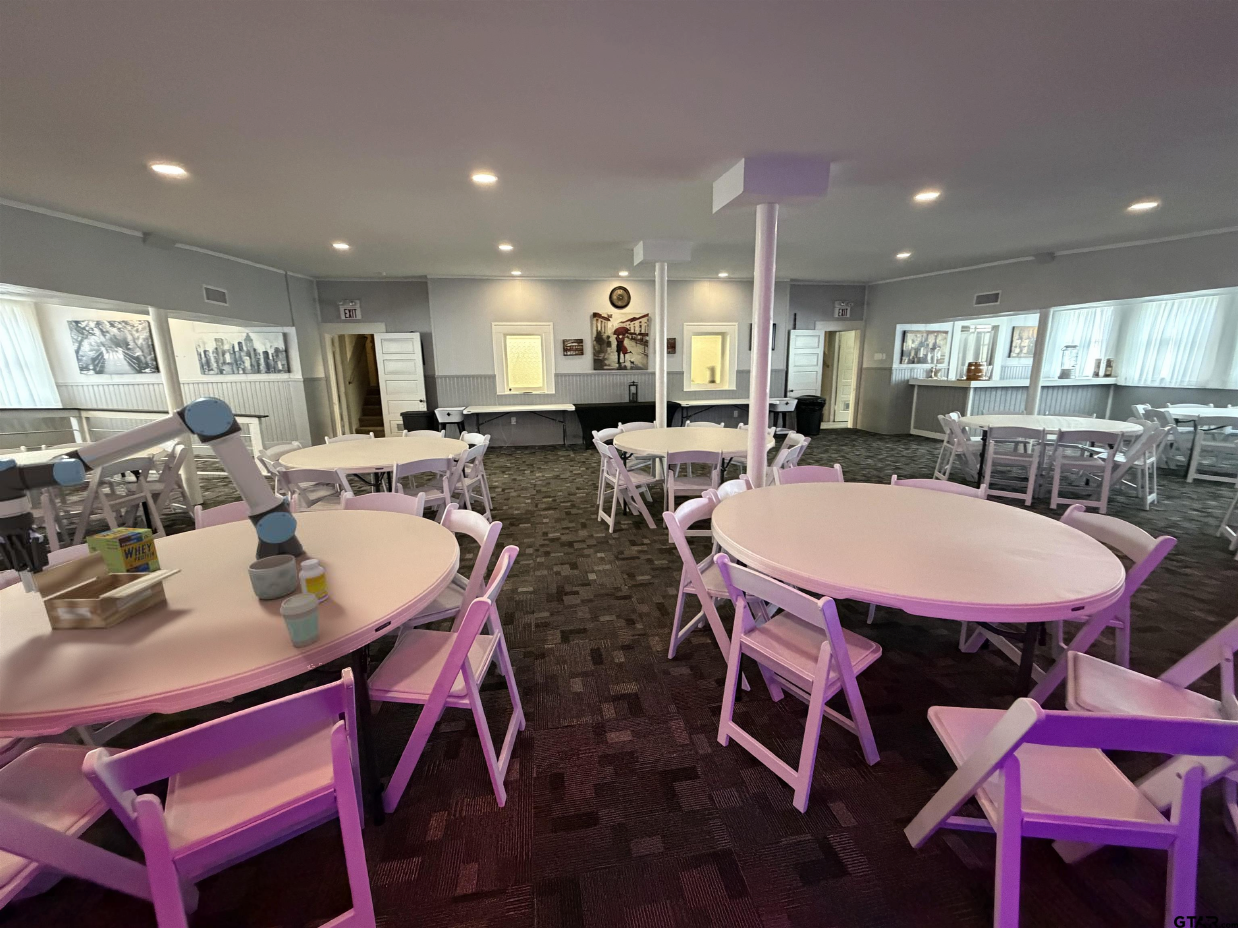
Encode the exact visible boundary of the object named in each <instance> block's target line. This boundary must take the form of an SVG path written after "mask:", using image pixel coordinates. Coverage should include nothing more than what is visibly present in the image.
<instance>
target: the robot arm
mask: <svg viewBox="0 0 1238 928" xmlns="http://www.w3.org/2000/svg"><path fill="white" fill-rule="evenodd" d="M242 432H243V429H242V427H241V425H240V423H239V422H238V420H237V417H235V415H234V413H233V411H232V409H231V407H230V405H229V404H228V403H227V402H225V401H224V400H223V399H221V398H218V397H214V396H213V397H212V396H203V397H200V398H196V399H195V400H193V401H192V402H190V403H189V404H187V405H184V406H182V407H180V408H177V409H174V410H173V413H172V414H169V415H167V416H165V417H162V418H159V419H156V420H154V421H151V422H148V423H145V424H142V425H140V426H137V427H134V428H131V429H129V430H126V431H122V432H120V433H118V434H115V435H112V436H109V437H106V438H104V439H101V440H99V441H95V442H93V443H90V444H87V445H84V446H80V447H79V448H77V449H73V450H71V451H68V452H65V453H61V454H58V455H55V456H53V457H52V458H50V459H48V460H46V461H40V462H32V463H31V462H30V463H18V462H16V459H15V458H10V457H9V458H7V457H5V458H0V555H1V557H2V559H3V561H4V564H5V565H6V567H7V569H8V570H10V571H12V570H14V572H15V573H16V572H17V574H18V576H19V580H20V581H21V582H22V586H23V589H24V591H25V593H26V594H29V593H32V592H33V593H35V594H36V593H39V591H38V588H37V586H36V584H35V581H34V579H33V577H32V575H34V574H37V573H40V572H42V571H44V570H43V569H44V568H45V567H48V566H49V565H50V559H49V555H48V551H47V544H46V543H47V542H46V540H47V534H45V533H43V534H39V533H36V530H35V529H34V528H33V525H34V524H36V520H35V519H36V518H35V515H34V513H33V511H31V505H30V503H29V499H28V496H27V492H26V491H33V490H39V489H48V488H56V487H57V488H58V487H63V486H64V487H65V486H66V487H68V486H71V485H78V484H83V483H84V482H85V481H86V476H87V475H86V474H87V473H90V472H93V471H95V470H97V469H100V468H103V467H105V466H108V465H110V464H113V463H116V462H118V461H121V460H124V459H126V458H128V457H131V456H135V455H137V454H140V453H141V452H145V451H147V450H150V449H153V448H155V447H158V446H161V445H162V444H163V445H164V444H166V443H168V442H171V441H174V440H176V439H179V438H181V437H183V436H187V435H189V436H196V437H197V438H198V440H199V441H200V443H201V444H202V445H205V446H207V447H210V448H211V450H212V452H213V454H215V457H216V458H217V459H218V461H219V463H220V464H221V466H222V467H223V469H224V471H225V472H226V474H227V476H228V477H229V479H230V480H231V481H232V483H233V485H234V487H235V488H236V490H237V491H238V493H239V495H240V496H241V498H242V500H243V501H244V503H245V505H246V506H247V509H248V510H247V511H246V516H247V518H248V519H249V521H250V522H251V524H252V526H253V527H254V529H255V532H256V534H257V539H258V540H257V545H256V552H255V559H256V560H255V561H258V560H261V559H264V558H267V557H272V556H277V555H292V556H294V557H295V558H297V557H299V556H300V555H301V554H303V553H304V548H303V545H302V543H301V541H300V540H299V538H298V536H297V535H296V530H297V525H298V522H297V519H296V518H295V516H294V515H293V513H292V509H291V502H290V500H289V498H288V497H285V496H284V497H278V496H276V495H275V493H274V491H273V489H272V488H271V486H270V484H269V483H268V480H267V479H266V478H265V476H264V474H263V472H262V471H261V469H260V467H259V465H258V464H257V463H256V461H255V459H254V457H253V456H252V454H251V452H250V451H249V449H248V448H247V446H246V444H245V442H244V440H243V439H242V437H241V435H242Z"/></svg>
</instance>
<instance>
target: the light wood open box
mask: <svg viewBox="0 0 1238 928" xmlns="http://www.w3.org/2000/svg"><path fill="white" fill-rule="evenodd" d="M181 572H182V569H162V570H161V569H157V570H155V571H154V572H153V571H152V572H148V573H110V574H108V575H105V576H103V577H97V578H96V579H92V580H90V581H87V582H85V583H84V584H83V583H82V585H79V586H78V585H77V586H75V587H73V588H71V589H68V590H67V591H66V590H65V591H64V592H62V593H59V594H57V595H56V594H55V596H54V595H53V596H52V597H49V598H46V599H44V600H43V605H44V608H45V611H46V615H47V617H48V621H49V624H50V627H51V630H53V631H54V630H55V631H57V630H58V631H59V630H63V631H64V630H107V629H109V628H112V627H113V626H115V625H117V624H119V623H120V622H122V621H125V620H127V619H128V618H131V617H132V616H134V615H137V614H139V613H140V612H142V611H145V610H146V609H148V608H150V607H152V606H154V605H156V604H158V603H160V602H162V601H164V600H166V599H167V596H166V593H165V587H164V584H163V581H164V580H166V579H168V578H171V577H172V576H173V577H174V575H177V574H179V573H181Z"/></svg>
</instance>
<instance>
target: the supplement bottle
mask: <svg viewBox="0 0 1238 928" xmlns="http://www.w3.org/2000/svg"><path fill="white" fill-rule="evenodd" d="M319 565H320V561H319V559H318V558H312V559H311V558H310V559H307V560H304V561H302V562H301V563H300V568H301V569H302V570H300V572H299V573H298V578H299V583H300V584H299V585H300V588H301V589H300V590H301V594H304V593H312V594H314V595H315V596H316V598H318V601H319V603H322V602H324V601H326V600H327V599H328V597H329V591H328V585H327V581H326V575H325V569H324V568H323V567H322V566H319ZM319 603H318V604H319Z"/></svg>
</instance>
